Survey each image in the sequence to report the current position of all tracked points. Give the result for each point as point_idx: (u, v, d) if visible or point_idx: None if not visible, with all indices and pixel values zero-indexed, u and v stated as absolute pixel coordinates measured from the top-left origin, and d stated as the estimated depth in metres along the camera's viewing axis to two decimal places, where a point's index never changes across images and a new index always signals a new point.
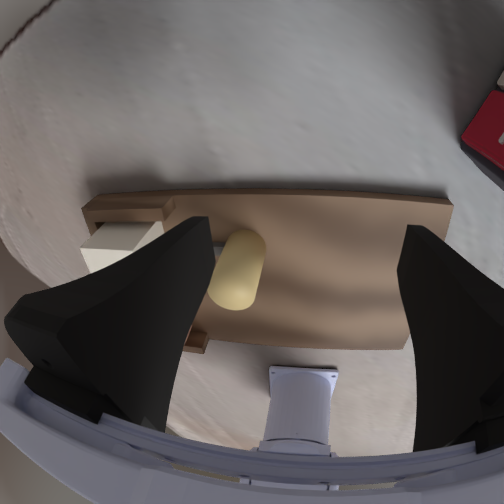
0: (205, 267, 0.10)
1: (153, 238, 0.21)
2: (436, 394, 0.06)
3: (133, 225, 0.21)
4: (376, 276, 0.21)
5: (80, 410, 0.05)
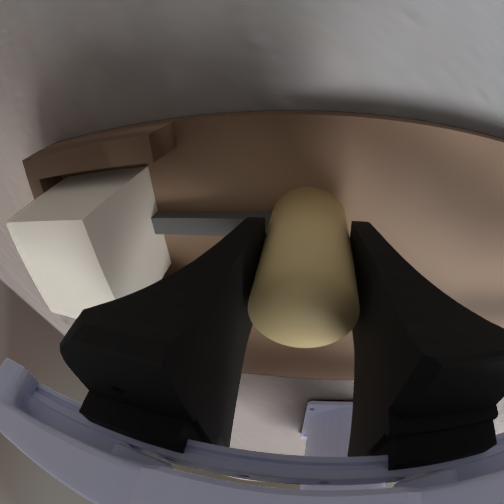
0: None
1: (132, 202, 0.11)
2: (363, 398, 0.06)
3: (99, 180, 0.11)
4: (494, 273, 0.11)
5: (80, 410, 0.05)
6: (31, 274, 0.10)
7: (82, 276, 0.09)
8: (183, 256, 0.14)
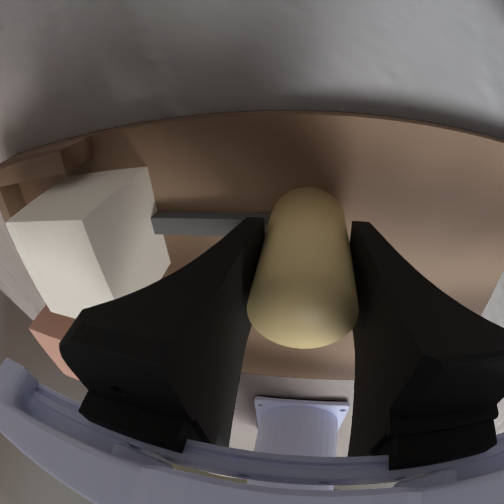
0: None
1: (132, 203, 0.11)
2: (363, 398, 0.06)
3: (98, 181, 0.11)
4: (425, 271, 0.12)
5: (80, 410, 0.05)
6: (30, 274, 0.10)
7: (82, 276, 0.09)
8: None
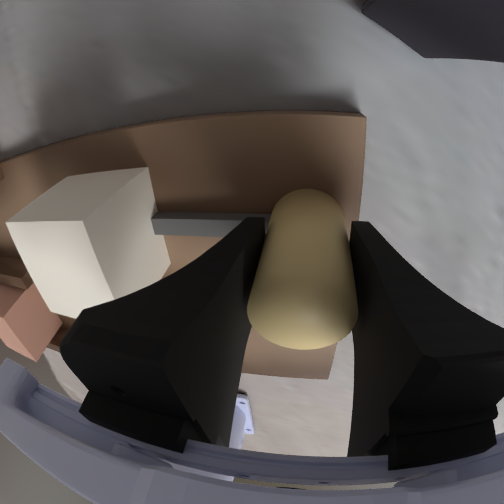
0: None
1: (132, 203, 0.11)
2: (362, 398, 0.06)
3: (99, 181, 0.11)
4: None
5: (80, 410, 0.05)
6: (30, 274, 0.10)
7: (82, 277, 0.09)
8: None
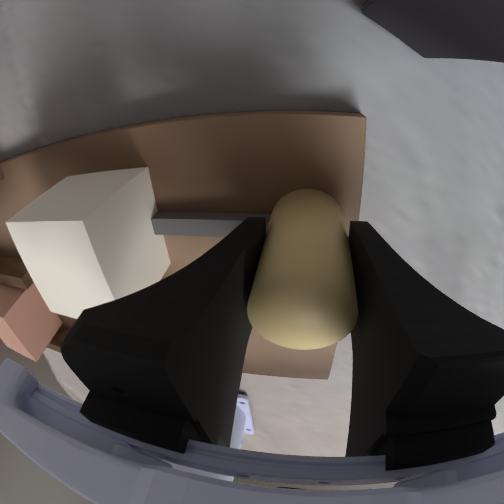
0: None
1: (132, 203, 0.11)
2: (361, 398, 0.06)
3: (99, 181, 0.11)
4: None
5: (80, 410, 0.05)
6: (30, 274, 0.10)
7: (82, 277, 0.09)
8: None
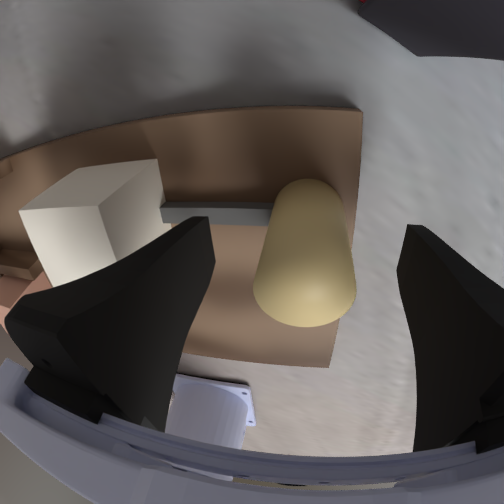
0: (205, 267, 0.10)
1: (143, 192, 0.11)
2: (436, 394, 0.06)
3: (110, 171, 0.11)
4: (244, 250, 0.14)
5: (80, 410, 0.05)
6: (41, 261, 0.11)
7: (94, 261, 0.10)
8: None
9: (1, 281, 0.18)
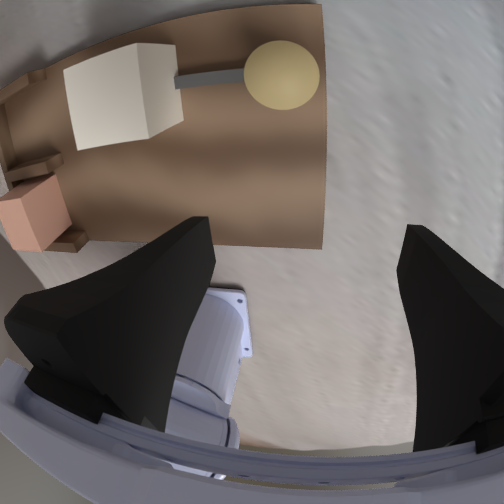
0: (205, 267, 0.10)
1: (164, 58, 0.13)
2: (436, 394, 0.06)
3: None
4: (239, 111, 0.16)
5: (80, 410, 0.05)
6: (71, 112, 0.13)
7: (121, 92, 0.12)
8: (52, 141, 0.19)
9: (13, 189, 0.20)
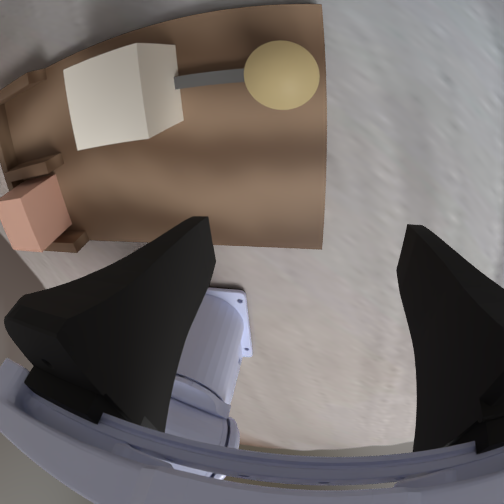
0: (205, 267, 0.10)
1: (164, 58, 0.13)
2: (436, 394, 0.06)
3: None
4: (239, 111, 0.16)
5: (80, 410, 0.05)
6: (71, 112, 0.13)
7: (121, 92, 0.12)
8: (52, 141, 0.19)
9: (13, 189, 0.20)
